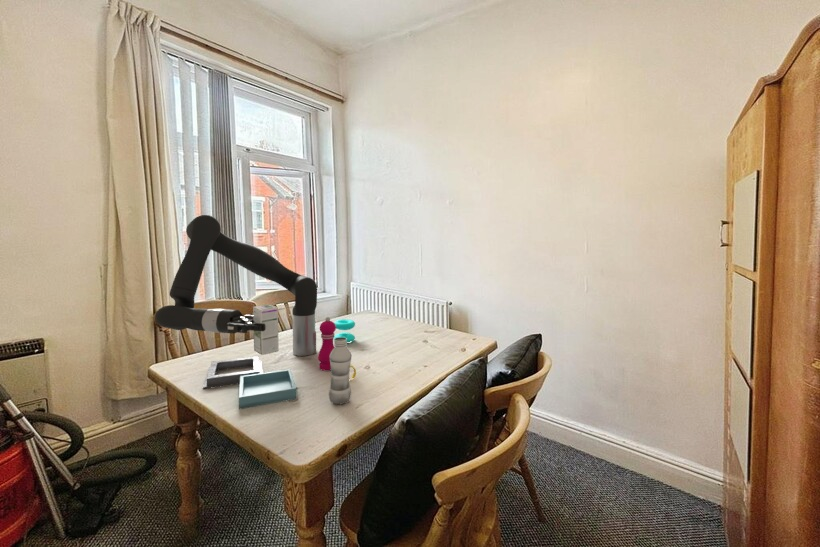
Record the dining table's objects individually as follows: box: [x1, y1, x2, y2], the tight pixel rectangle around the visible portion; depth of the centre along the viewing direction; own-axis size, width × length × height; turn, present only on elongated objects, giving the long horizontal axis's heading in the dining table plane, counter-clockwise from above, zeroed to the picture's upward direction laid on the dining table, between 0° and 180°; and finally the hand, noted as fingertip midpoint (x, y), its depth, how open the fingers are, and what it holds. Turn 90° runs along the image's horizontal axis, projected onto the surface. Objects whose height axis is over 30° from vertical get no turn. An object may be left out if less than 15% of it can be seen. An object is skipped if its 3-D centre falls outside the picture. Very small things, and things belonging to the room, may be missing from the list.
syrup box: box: [252, 304, 279, 356], centre depth 105 cm, size 6×6×14 cm
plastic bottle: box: [328, 337, 353, 405], centre depth 102 cm, size 6×7×20 cm
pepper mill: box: [317, 316, 337, 371], centre depth 128 cm, size 7×7×20 cm
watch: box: [350, 363, 357, 379], centre depth 118 cm, size 6×3×6 cm, turn 119°
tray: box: [238, 368, 298, 410], centre depth 107 cm, size 16×16×4 cm
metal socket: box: [202, 355, 264, 389], centre depth 120 cm, size 18×18×3 cm
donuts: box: [333, 318, 356, 342], centre depth 160 cm, size 10×10×10 cm
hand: (271, 323), depth 105 cm, fingers closed on syrup box, 8 cm apart
